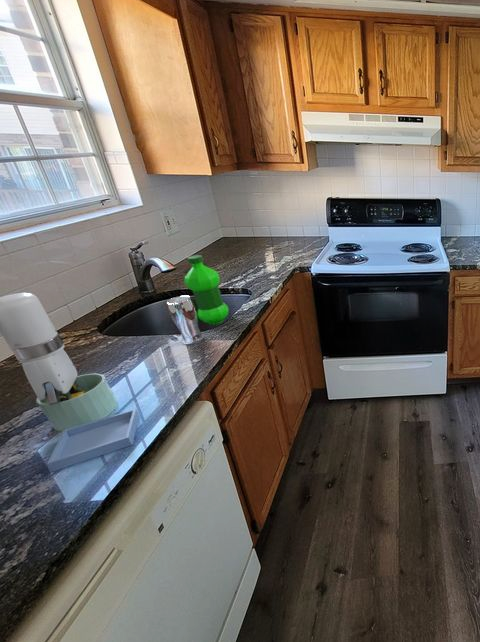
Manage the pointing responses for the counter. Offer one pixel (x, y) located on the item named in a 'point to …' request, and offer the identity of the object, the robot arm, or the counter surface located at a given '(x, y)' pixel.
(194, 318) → the beer glass
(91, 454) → the tray
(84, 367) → the counter surface
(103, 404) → the bowl
